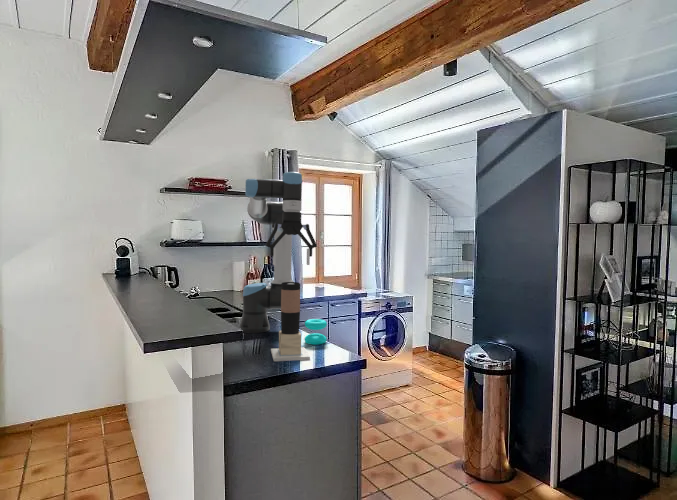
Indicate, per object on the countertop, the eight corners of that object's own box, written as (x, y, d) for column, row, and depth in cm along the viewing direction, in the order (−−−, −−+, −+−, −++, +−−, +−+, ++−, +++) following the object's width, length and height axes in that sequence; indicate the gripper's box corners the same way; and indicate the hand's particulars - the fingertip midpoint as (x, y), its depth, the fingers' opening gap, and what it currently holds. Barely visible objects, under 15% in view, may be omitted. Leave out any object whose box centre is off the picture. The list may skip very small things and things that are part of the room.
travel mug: (276, 332, 177) (277, 283, 176) (289, 329, 183) (289, 281, 182) (291, 335, 173) (292, 284, 172) (303, 332, 179) (304, 283, 178)
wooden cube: (278, 349, 181) (279, 330, 181) (298, 349, 183) (298, 329, 183) (280, 355, 174) (281, 335, 173) (301, 354, 175) (301, 334, 175)
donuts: (301, 319, 202) (321, 317, 206) (301, 341, 202) (320, 339, 207) (310, 323, 193) (330, 321, 197) (309, 346, 193) (330, 344, 198)
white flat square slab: (271, 351, 184) (271, 348, 184) (304, 350, 187) (304, 346, 187) (273, 361, 170) (273, 357, 170) (309, 359, 173) (309, 356, 173)
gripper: (260, 210, 169) (260, 265, 170) (324, 212, 175) (323, 265, 176) (259, 211, 177) (259, 263, 178) (320, 212, 182) (320, 264, 183)
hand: (291, 264), depth 177 cm, fingers open, 13 cm apart
